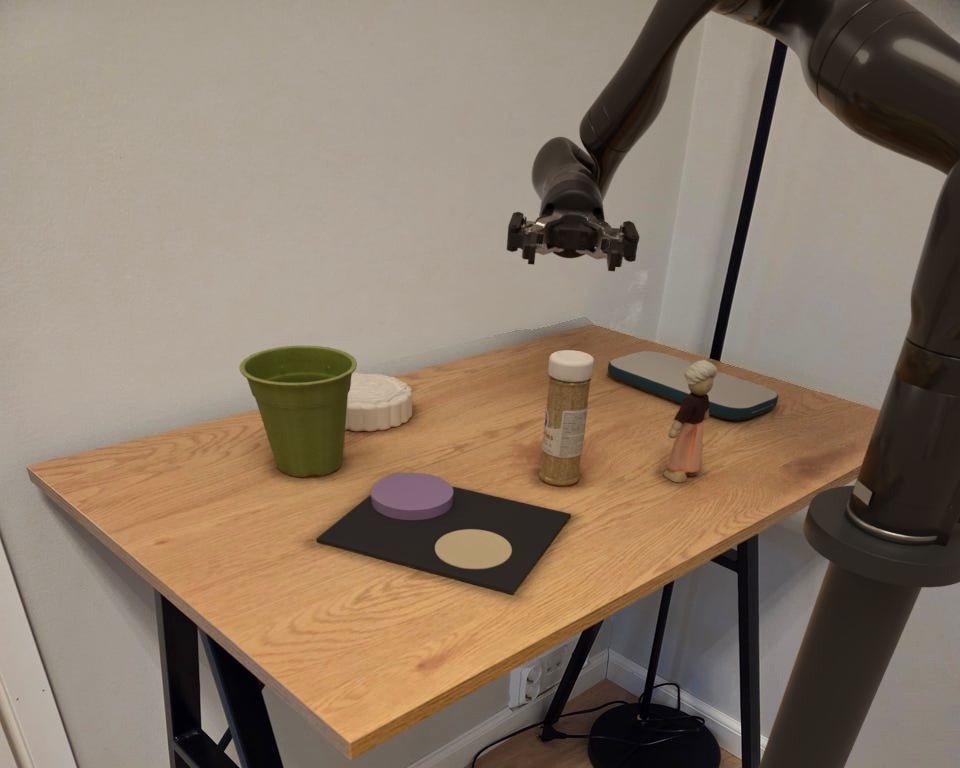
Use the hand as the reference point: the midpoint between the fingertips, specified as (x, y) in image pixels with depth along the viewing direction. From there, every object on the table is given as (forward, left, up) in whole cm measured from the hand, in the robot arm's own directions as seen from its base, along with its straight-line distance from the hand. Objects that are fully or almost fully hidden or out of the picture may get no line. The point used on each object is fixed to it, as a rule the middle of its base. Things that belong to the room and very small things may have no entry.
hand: (572, 258), depth 85 cm
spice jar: (-4, +9, -21) cm, 23 cm away
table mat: (+2, +25, -21) cm, 32 cm away
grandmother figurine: (-16, +1, -21) cm, 26 cm away
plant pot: (+22, +19, -21) cm, 36 cm away
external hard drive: (-11, -26, -21) cm, 35 cm away
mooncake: (+24, +3, -21) cm, 32 cm away
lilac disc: (+8, +22, -20) cm, 31 cm away
